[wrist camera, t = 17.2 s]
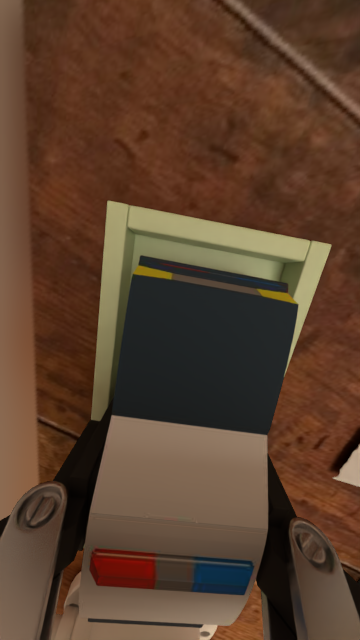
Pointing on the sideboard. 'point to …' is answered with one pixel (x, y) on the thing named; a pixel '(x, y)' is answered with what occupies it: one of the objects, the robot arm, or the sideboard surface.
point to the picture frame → (351, 469)
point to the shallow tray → (195, 249)
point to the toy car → (187, 448)
